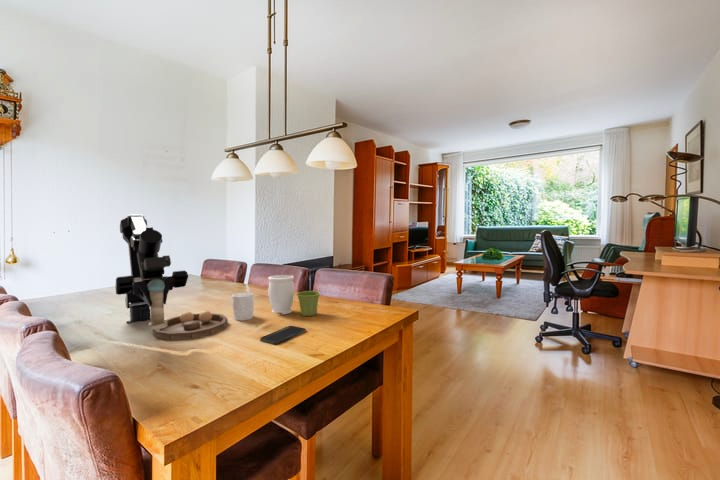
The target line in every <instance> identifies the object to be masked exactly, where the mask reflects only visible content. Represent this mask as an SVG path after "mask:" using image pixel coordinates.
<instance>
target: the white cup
mask: <svg viewBox="0 0 720 480" xmlns="http://www.w3.org/2000/svg"><path fill="white" fill-rule="evenodd" d="M231 301H232V311H233V319H234V320H235V321H246V320H251V319H253V317H254V307H255V303H254V301H255V294H254V292H250V291H249V292H248V291H247V292H245V291H244V292H236V293H232V295H231Z"/></svg>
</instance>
